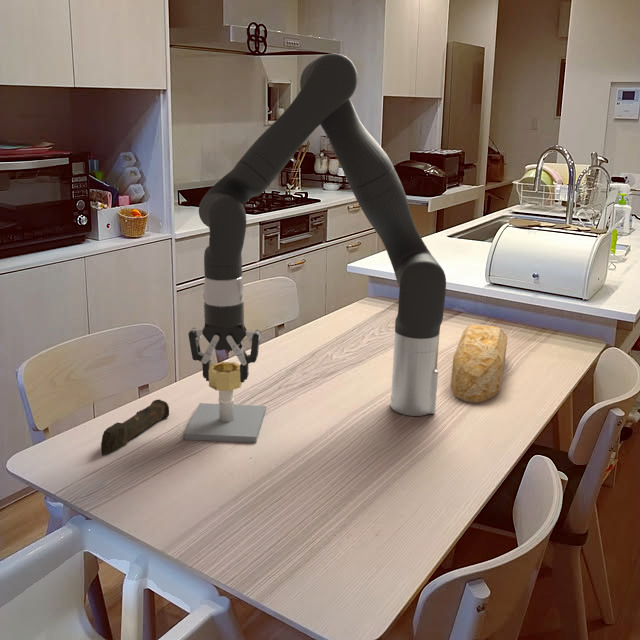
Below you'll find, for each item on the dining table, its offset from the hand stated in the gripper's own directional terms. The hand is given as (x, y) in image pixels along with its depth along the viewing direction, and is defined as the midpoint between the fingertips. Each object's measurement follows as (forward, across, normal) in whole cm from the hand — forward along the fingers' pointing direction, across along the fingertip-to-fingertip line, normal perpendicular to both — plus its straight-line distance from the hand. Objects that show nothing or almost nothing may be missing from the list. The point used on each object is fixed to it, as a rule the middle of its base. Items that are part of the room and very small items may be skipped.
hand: (225, 380), depth 140 cm
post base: (+10, 0, 0) cm, 10 cm away
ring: (+1, 0, 0) cm, 1 cm away
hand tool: (+10, +16, +6) cm, 20 cm away
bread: (+10, -56, -34) cm, 66 cm away
